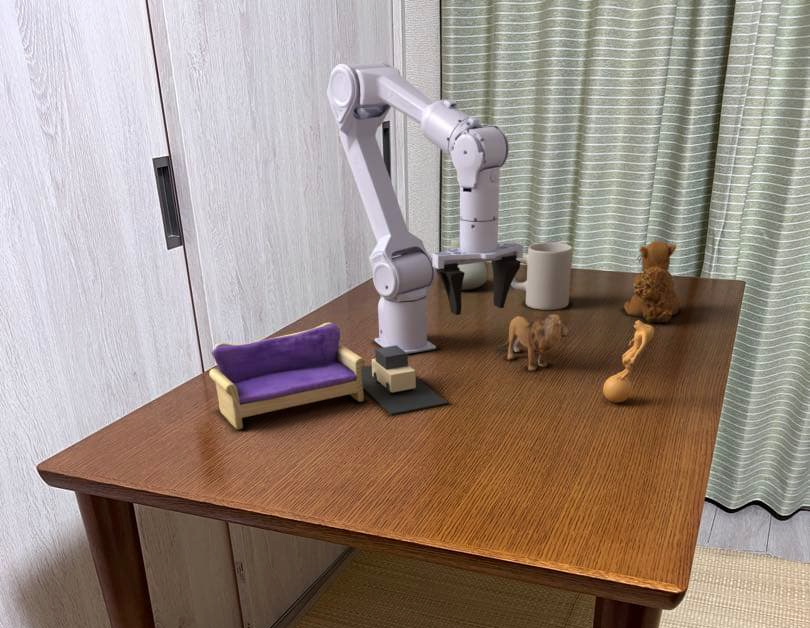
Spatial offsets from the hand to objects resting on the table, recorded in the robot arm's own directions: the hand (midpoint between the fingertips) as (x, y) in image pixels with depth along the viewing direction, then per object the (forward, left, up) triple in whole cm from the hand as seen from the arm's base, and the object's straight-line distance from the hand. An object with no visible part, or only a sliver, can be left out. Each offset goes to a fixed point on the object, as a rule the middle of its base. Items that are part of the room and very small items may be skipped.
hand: (477, 309), depth 127 cm
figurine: (+23, +12, -10) cm, 28 cm away
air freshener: (-46, +21, -10) cm, 51 cm away
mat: (+2, -16, -9) cm, 18 cm away
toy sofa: (+2, -32, -10) cm, 33 cm away
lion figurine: (+2, +9, -10) cm, 13 cm away
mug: (-27, +28, -10) cm, 40 cm away
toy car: (+2, -16, -9) cm, 18 cm away
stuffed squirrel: (-9, +42, -10) cm, 44 cm away
